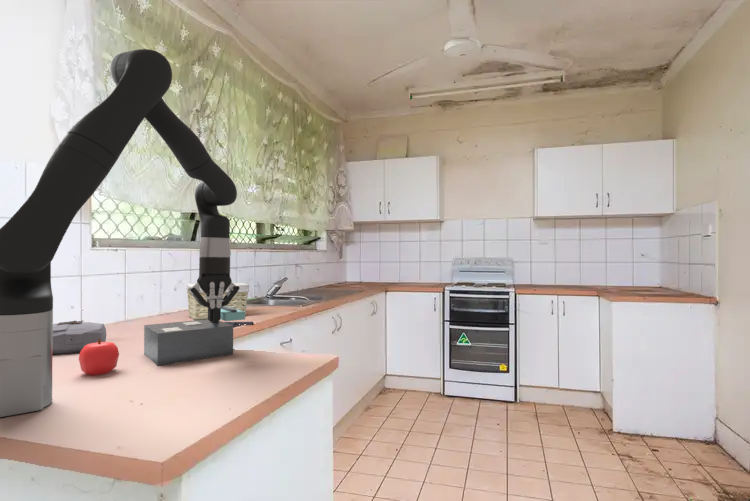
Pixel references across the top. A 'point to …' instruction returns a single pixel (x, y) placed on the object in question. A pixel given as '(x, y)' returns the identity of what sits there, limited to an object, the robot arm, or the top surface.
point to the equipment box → (187, 341)
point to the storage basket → (237, 301)
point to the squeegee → (239, 323)
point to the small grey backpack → (76, 336)
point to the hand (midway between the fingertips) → (213, 322)
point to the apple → (98, 358)
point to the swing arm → (231, 314)
